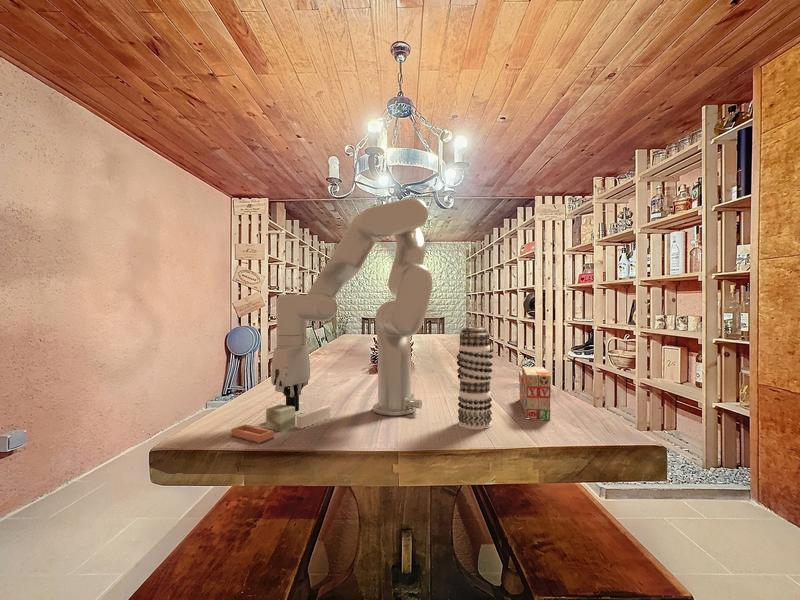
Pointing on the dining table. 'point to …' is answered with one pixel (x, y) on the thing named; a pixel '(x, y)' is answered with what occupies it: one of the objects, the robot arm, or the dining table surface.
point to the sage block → (280, 417)
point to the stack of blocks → (535, 392)
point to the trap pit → (252, 434)
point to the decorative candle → (474, 378)
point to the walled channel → (311, 415)
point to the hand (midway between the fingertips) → (292, 410)
